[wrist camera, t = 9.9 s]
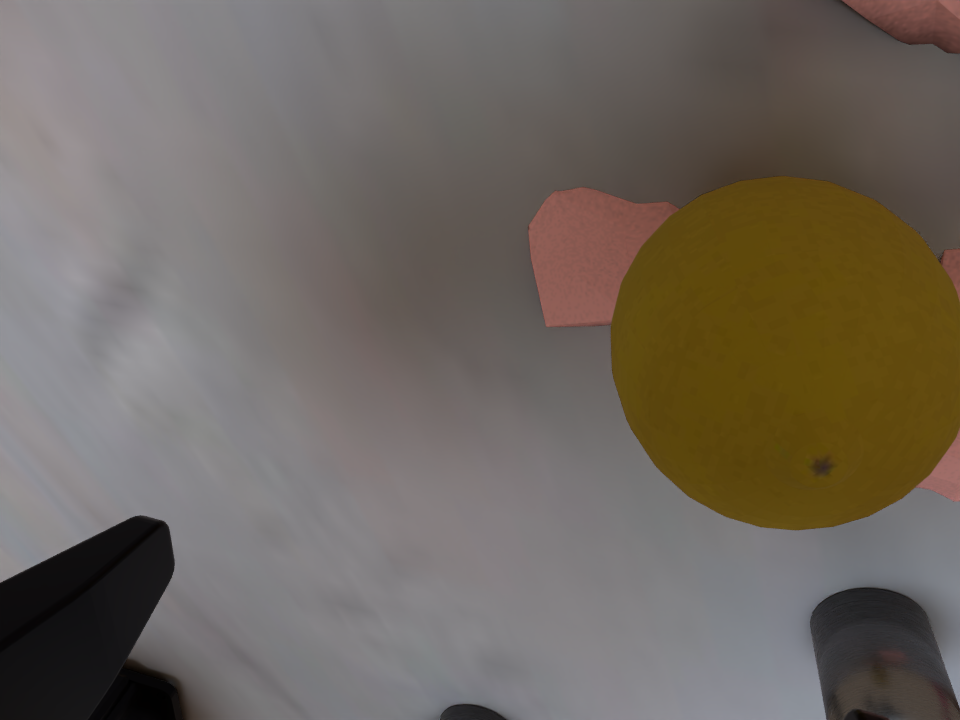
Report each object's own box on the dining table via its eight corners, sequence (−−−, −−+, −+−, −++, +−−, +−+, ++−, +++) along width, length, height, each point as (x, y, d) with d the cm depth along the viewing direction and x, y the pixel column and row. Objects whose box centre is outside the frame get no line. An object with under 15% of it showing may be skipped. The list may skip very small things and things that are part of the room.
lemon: (815, 408, 17) (935, 682, 10) (589, 344, 18) (552, 563, 11) (929, 181, 15) (1196, 334, 8) (661, 115, 15) (676, 199, 8)
